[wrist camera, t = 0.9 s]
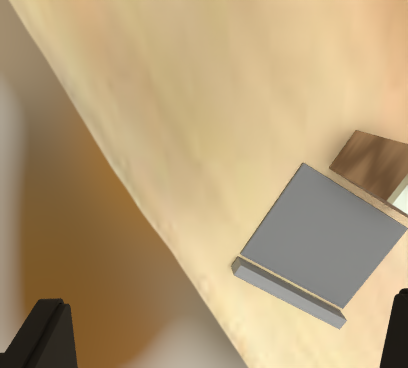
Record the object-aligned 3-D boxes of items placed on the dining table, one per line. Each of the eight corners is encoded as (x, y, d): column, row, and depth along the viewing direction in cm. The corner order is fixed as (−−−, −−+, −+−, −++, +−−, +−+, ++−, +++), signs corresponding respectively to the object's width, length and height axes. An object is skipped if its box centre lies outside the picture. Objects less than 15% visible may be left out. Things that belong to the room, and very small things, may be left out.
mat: (303, 162, 38) (309, 166, 36) (406, 227, 41) (417, 234, 40) (231, 266, 41) (233, 275, 39) (332, 318, 45) (339, 329, 43)
